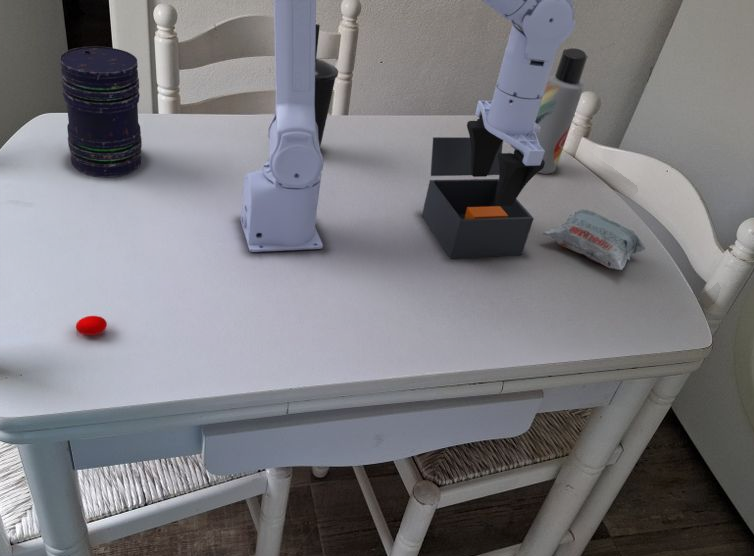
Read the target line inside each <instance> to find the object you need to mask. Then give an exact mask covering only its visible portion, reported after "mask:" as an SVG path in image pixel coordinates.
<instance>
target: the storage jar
mask: <svg viewBox="0 0 754 556" xmlns="http://www.w3.org/2000/svg"><path fill="white" fill-rule="evenodd" d="M59 61H60V66H61V68H60V70H61V76H60V77H61V86H62V90H63V91H62V95H63V99H64V102H66V110H67V120H68V123H67V128H66V129H67V143H68V148H69V154H70V155H71V156H70V163H71V166H72V167H73V168H74V170H76V171H77V172H78V173H80V174H83V175H87V176H91V177H96V178H97V177H98V178H117V177H122V176H126V175H129V174H132V173H134V172H136V171H137V170H138V169H139V168H140V167H141V166H142V163H143V161H142V159H143V158H142V155H141V154H142V146H143V144H142V143H143V142H142V131H141V130H142V129H141V125H140V124H139V107H138V104H139V101H140V96H141V94H140V79H139V71H138V67H139V66H138V58H137V57H136V55H134V54H132V53H130V52H129V51H126V50H123V49H119V48H115V47H108V46H82V47H76V48H72V49H69V50H67V51H64V52H63V53H61V55H60V57H59Z"/></svg>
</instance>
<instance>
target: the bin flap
mask: <svg viewBox="0 0 754 556" xmlns="http://www.w3.org/2000/svg"><path fill="white" fill-rule="evenodd" d="M503 144H504V141H503V142H502V144H501V146H500V147H499V149H498V151H497V154H496V156H495V159H494V162H493V164H492V167H491V169H490V172H489V173H488V175H487V176H499V161H498V153H503V146H504V145H503ZM431 147H432V149H431V164H430V177H455V176H460V177H461V176H472V174H471V141H470V136H468V137H467V136H466V137H461V136H460V137H457V136H455V137H453V136H452V137H449V136H448V137H447V136H445V137H444V136H443V137H441V136H439V137H437V136H435V137H432V146H431Z"/></svg>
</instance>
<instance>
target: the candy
mask: <svg viewBox="0 0 754 556" xmlns="http://www.w3.org/2000/svg"><path fill="white" fill-rule="evenodd" d="M107 327H108V322H107V321H106V319H105V318H104V317H102V316H99V315H88V316H84V317H82V318H80V319H79V320H78V321H77V322H76V324H75V329H76V331H77V332H78V333H79V334H81V335H85V336H94V335H99V334H102V333H103V332H104V331H105V330H106V329H107Z"/></svg>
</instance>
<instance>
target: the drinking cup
mask: <svg viewBox="0 0 754 556" xmlns="http://www.w3.org/2000/svg"><path fill="white" fill-rule="evenodd" d="M320 27H321V25H320V24H317V23H316V39H315V122H316V124H317V126H318V140H319V146H320V147H321V146H322V141H323V137H324V131H325V127H326V123H327V119H328V113H329V108H330V105H331V101H332V95H333V91H334V87H335V83H336V78H338V77H339V70H338V68H337V67H336V66H335V65H333V64H331V63H329V62H327V61H325V60H323V59H320V58H317V57H318V56H317V55H318V46H319V38H320V37H319V35H320Z"/></svg>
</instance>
